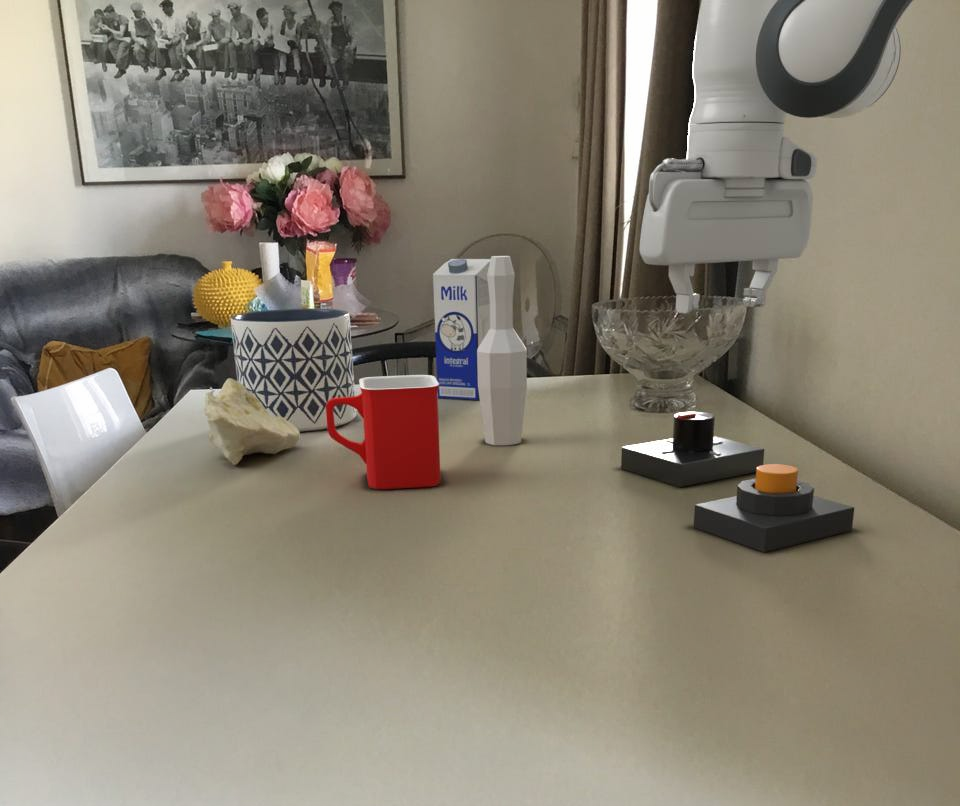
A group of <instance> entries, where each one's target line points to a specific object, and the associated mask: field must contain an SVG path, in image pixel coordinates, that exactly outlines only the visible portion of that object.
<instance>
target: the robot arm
mask: <svg viewBox="0 0 960 806" xmlns="http://www.w3.org/2000/svg"><path fill="white" fill-rule="evenodd" d="M914 2H915V0H701V1H700V5H699V12H698V17H697V24H696V30H695V39H694V47H693V49H694V50H693V61H692V80H693V86H694V102H693V108H692V111H691V114H690V116H689V120H688V121H689V122H688V132H687V133H688V135H687V151H686V158H682V159H677V158H675V157H674V158H673V157H670V158H669V157H668V158H665V159H663V160H662V162H661V163H660V164H659V165H657V166H656V167H655V168H654V170H653V172H652V173H651V174H650V175H649V180H648V181H649V182H648V194H647V196H646V201H645V205H644V209H643V210H644V211H643V216H642V222H641V228H640V229H641V230H640V239H639V248H638V249H639V254H640V256H641V258H642V261H643V262H644V264H647V265H653V266H668V278H669V281H670V284H671V286H672V289H673V291H674V293H675V294H676V297H675V312H677V314H694V313H698V312H699V309H700V305H699V303H700V298H701V295H700V293H695V292H694V288H693V284H692V281H691V278H690V277H694V276H695V267H696V266H695V265H696V264H697V265H698V264H714V263H733V262H750V261H752V271H755V272H754V274H753V277H752V279H751V282H750V284H749V287H745V288H743V294H742V295H743V299H742V305H743V306H744V307H747V308H760V307H761V308H762V307H764V306H765V305H766V299H767V290H768V288H769V286H770V285H771V283H772V282H773V279H774V277H775V275H776V273H777V272H778V265H779V260H782V259H783V260H785V259H797V258H800V257H802V255H803V254H804V252H805V250H806V248H807V247H808V243H809V239H810V234H811V226H812V216H813V215H812V214H813V206H814V197H813V196H814V193H813V187H812V185H811V184H810V182H809V181H807V180H812V179H813V178H815V176H816V174H817V169H818V167H817V166H818V158H817V156H816V155H815V154H813V152H810V151H808V150H807V149H805V148H803V147H801V146H800V145H799V144H796V143H795V142H794V141H792V140H791V139H790V138H789V137H787V136H784V134H785V133H784V132H785V122H786V121H785V120H786V116H787V114H788V115H790V116H794V117H798V118H805V119H806V118H807V119H810V118H829V119H841V118H847V117H850V116H854V115H856V114H858V113H860V112H862V111H864V110H867V109H868V108H869V107H871V106H873V105H874V104H875V103H876V102H878V100H880V99H881V97H883V96H884V95H885V93H886V92H887V91H888V89H889V88H890V86H891V85H892V83H893V81H894V79H895V77H896V75H897V72H898V69H899V65H900V61H901V49H902V48H901V38H900V36H899V31H898V29H897V27H896V26H897V24H898V23H899V21H900V19H901V18H902V16H903V15H904V14H905V12H906V11H907V9H909V7H910V6H911V5H912V4H913V3H914ZM661 170H662V171H661Z"/></svg>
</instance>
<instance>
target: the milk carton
mask: <svg viewBox="0 0 960 806" xmlns="http://www.w3.org/2000/svg"><path fill="white" fill-rule="evenodd" d="M490 261H491V258H450V259H449V260H448V261H446V262H444V263H443V264H442V265H441V266H440V267H439V268H438V269H437V270H436V271H434V272H433V273H432V274H431V275H432V283H433V311H434V335H435V336H434V337H435V358H436V359H435V363H436V365H435V366H436V380H437V381H438V383H439V388H438V393H437V395H438V399H452V400H467V401H469V400H470V401H480V398H479V390H478V367H477V349H478V347H479V346H480V344H481V342H482V341H483V339H484V337H485V336H486V334H487V333H488V331H489V329H490V299H489V289H488V279H487V273H488V269H489V265H490Z"/></svg>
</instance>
